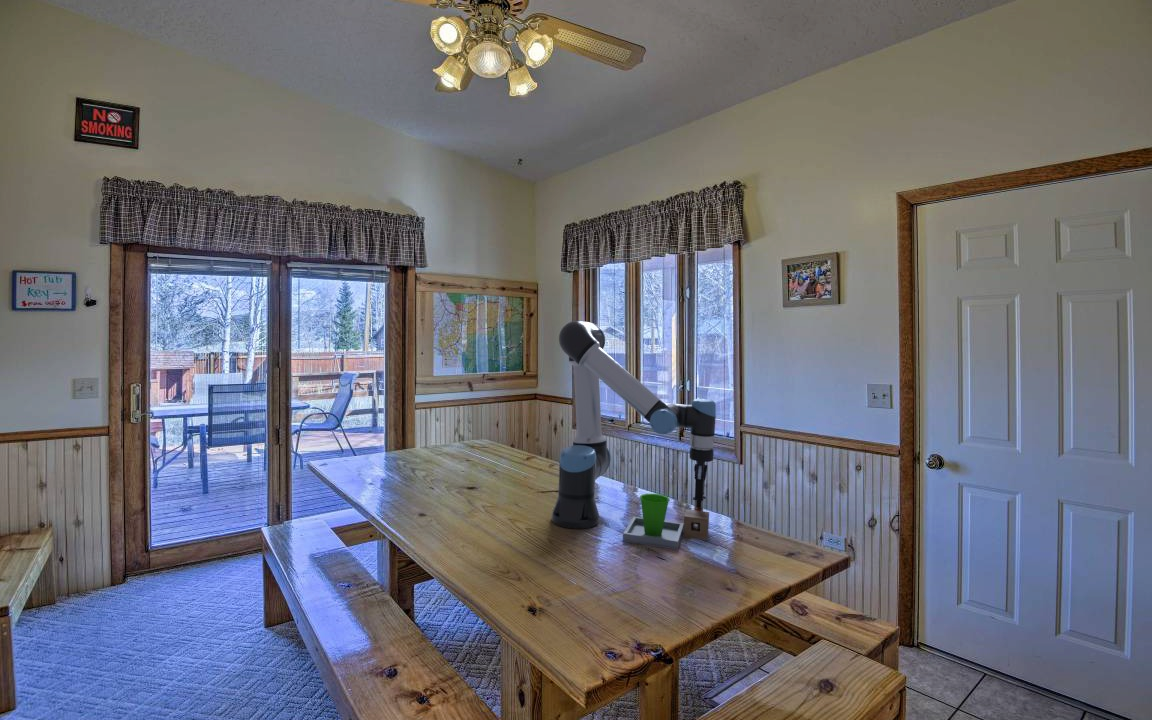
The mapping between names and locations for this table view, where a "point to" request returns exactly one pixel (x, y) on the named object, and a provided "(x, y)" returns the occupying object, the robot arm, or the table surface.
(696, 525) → the pin
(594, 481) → the robot arm
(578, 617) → the table surface
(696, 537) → the mount
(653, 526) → the cup
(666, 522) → the tray
